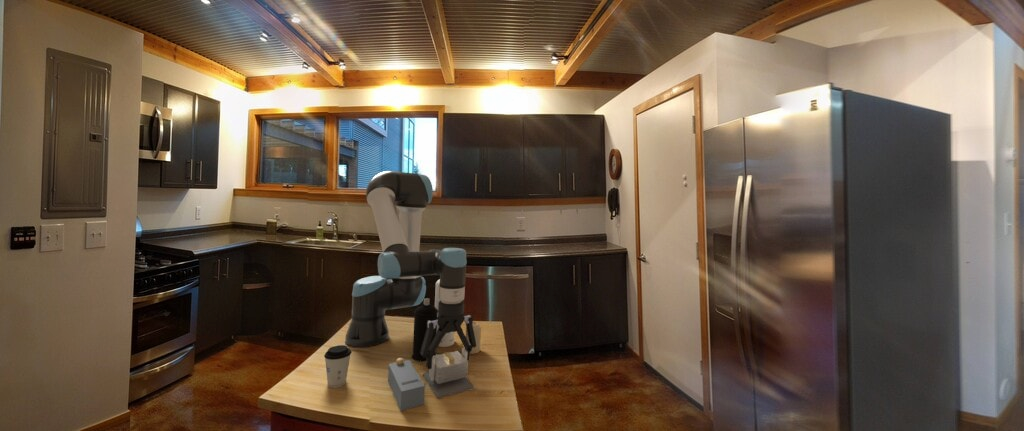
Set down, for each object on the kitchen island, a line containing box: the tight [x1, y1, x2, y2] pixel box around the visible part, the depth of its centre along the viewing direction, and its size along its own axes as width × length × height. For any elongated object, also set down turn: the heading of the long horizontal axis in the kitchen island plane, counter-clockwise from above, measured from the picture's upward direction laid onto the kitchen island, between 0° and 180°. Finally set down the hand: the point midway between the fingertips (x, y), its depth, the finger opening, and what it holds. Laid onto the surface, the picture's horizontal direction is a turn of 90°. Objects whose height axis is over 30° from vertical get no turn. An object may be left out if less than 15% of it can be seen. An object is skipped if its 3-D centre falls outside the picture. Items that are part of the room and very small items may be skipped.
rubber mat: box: [422, 371, 475, 399], centre depth 97 cm, size 14×11×1 cm
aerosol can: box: [411, 297, 438, 362], centre depth 112 cm, size 8×8×20 cm
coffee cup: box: [323, 344, 352, 388], centre depth 93 cm, size 7×7×10 cm
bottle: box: [434, 278, 456, 348], centre depth 124 cm, size 8×8×28 cm
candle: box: [465, 321, 482, 355], centre depth 119 cm, size 6×6×10 cm
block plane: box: [387, 357, 426, 412], centre depth 90 cm, size 16×6×6 cm, turn 32°
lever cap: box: [434, 350, 469, 384], centre depth 97 cm, size 8×9×6 cm
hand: (447, 374), depth 97 cm, fingers open, 9 cm apart
